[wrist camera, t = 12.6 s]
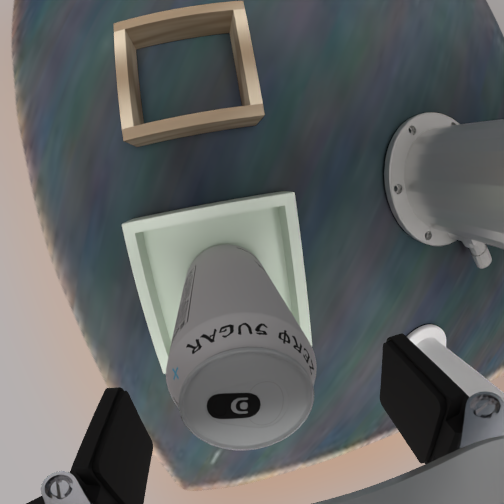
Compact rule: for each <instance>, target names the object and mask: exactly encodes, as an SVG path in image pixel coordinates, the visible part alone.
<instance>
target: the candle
mask: <svg viewBox="0 0 504 504" xmlns="http://www.w3.org/2000/svg"><path fill="white" fill-rule="evenodd" d="M407 338H408V339H409V340H410V341H411V342H413V343H414V344H415V345H416V346H417V347H418V348H419V349H420V350H421V351H422V352H423V353H424V354H425V355H426V356H427V357H429V358H430V359H431V360H432V361H433V362H434V363H435V364H436V365H437V366H438V367H439V368H440V369H441V370H442V371H443V372H444V373H445V374H447V375H448V376H449V377H450V378H451V379H452V380H453V381H454V382H455V383H456V384H457V385H458V386H459V387H460V388H461V389H462V390H463V391H464V392H465V393H466V394H467V395H468V396H469V397H470V396H472V395H473V394H475V393H478V392H484V391H487V392H492V393H495V394H497V395H498V396H500V397H501V398H502V400H503V401H504V393H503V392H502V391H501V390H500V389H499V388H497V387H496V386H495V385H494V384H492V383H491V382H490V381H489V380H487V379H486V378H485V377H484V376H482V375H481V374H480V373H478V372H477V371H476V370H475V369H473V368H472V367H471V366H470V365H468V364H467V363H466V362H464V361H463V360H462V359H461V358H459V357H458V356H457V355H455V354H454V353H453V352H451V351H450V350H449V349H448V348H446V336H445V333H444V331H443V330H442V329H441V328H439V327H438V326H436V325H433V324H427V325H423V326H421V327H418V328H417V329H415V330H414V331H412V332H411V333H410V334H409V335H408V336H407Z"/></svg>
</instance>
